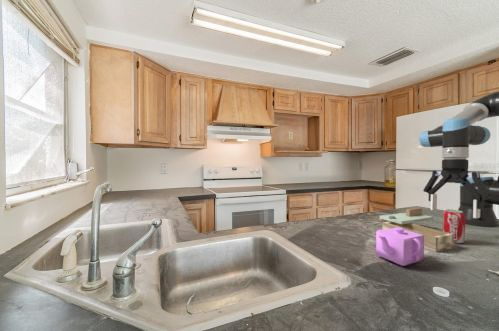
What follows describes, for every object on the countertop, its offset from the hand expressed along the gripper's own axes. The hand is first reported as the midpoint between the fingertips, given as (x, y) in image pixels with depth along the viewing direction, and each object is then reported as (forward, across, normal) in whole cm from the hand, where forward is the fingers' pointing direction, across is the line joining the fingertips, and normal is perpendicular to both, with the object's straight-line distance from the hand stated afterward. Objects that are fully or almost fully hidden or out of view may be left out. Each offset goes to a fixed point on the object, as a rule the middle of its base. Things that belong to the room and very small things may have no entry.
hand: (453, 213), depth 85 cm
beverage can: (+11, 0, +1) cm, 11 cm away
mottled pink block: (+12, +3, -35) cm, 37 cm away
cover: (+6, -16, -4) cm, 17 cm away
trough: (+11, -6, -12) cm, 18 cm away
